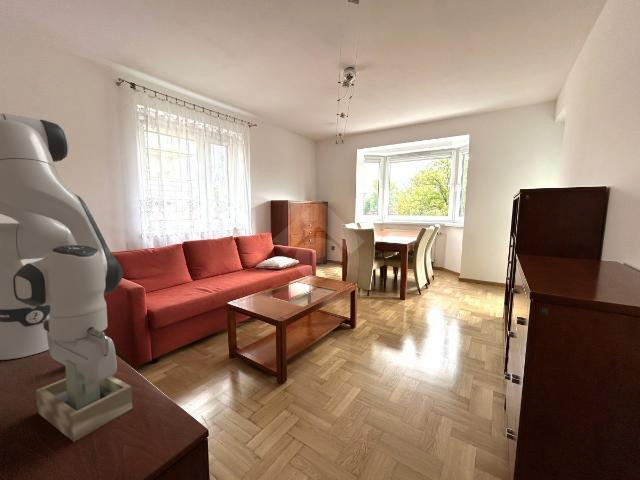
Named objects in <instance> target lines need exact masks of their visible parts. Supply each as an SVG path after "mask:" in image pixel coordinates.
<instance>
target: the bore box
mask: <svg viewBox="0 0 640 480" xmlns="http://www.w3.org/2000/svg"><path fill="white" fill-rule="evenodd" d="M99 385H100V400H98V401H96V402H94V403H92V404H90V405H88V406H86V407H84V408H82V409H80V410H78V411H76V410H74V409H73V408H72V407H70V406H69V405H68V404H67V386H66V377H65V378H63V379H60V380H57V381H55V382H53V383H50V384H48V385H46V386H43V387H41V388H38V389H36V390H35V393H36V407H37V408H36V409H37V414H38V415H40V416H41V417H42V418H44V419H45V420H46V421H47V422H49V423H50V424H51V425H52V426H53V427H55V428H56V429H57V430H59V431H60V432H61V433H62V434H63V435H64V436H66V437H67V438H68V439H70V441H72V442H73V443H75V442H77V441H78V440H80V439H82V438H84V437H85V436H87V435H88V434H90V433H92V432H94V431H95V430H97V429H99V428H101V427H103V426H104V425H106V424H108V423H109V422H112V421H114V420H115V419H117V418H119V417H120V416H122V415H124V414H125V413H127V412H128V411H130V410H132V409H133V387H132V385H130V384H128V383H126V382H125V381H122V380H121V379H119V378H116V377H114V375H112V376H110V377H108V378H106V379H104V380H101V381H99ZM76 440H77V441H76Z"/></svg>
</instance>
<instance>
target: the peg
mask: <svg viewBox="0 0 640 480" xmlns="http://www.w3.org/2000/svg"><path fill="white" fill-rule="evenodd" d="M64 366H65V368H64V369H65V378H66V386H67V404H68V405H69V406H70V407H72V408H73V409H74V410H76V411H78V410H80V409H82V408H84V407H86V406H88V405H90V404H92V403H94V402H96V401H98V400H100V385H99V382H97V389H96V390H95V391H93V392H91V393H89V394H87V393H85V392H84V391H83V384H84V383H85V378H84V376H83V375H82V374H80V373H78V372H77V371H76V365H75V364H74V363H72V362H70V361H68V360H65V365H64Z"/></svg>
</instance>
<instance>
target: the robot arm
mask: <svg viewBox="0 0 640 480" xmlns="http://www.w3.org/2000/svg"><path fill="white" fill-rule="evenodd" d="M69 149H70V143H69V139H68V137H67V135H66V134H65V131H64V130H63V128H62V127H61V126H60V125H59V124H57V123H55V122H52V121H47V120H45V119H39V120H38V119H34V118H32V117H31V118H30V117H26V116H21V115H16V114H10V113H0V215H3V216H5V217H8V218H11V219H12V220H14V221H16V222H17V223H14V222H13V223H11V222H10V223H8V222H7V223H5V222H4V223H3V222H0V360H1V361H3V360H12V359H14V360H15V359H19V358H24V357H29V356H32V355H37V354H40V353H43V352H46V351H49V353H50V356H51V358H52V359H53V360H55V361H57V362H58V363H60V364H62V365H64V366H65V360H68V361H70V362H72V363H74V364H75V365H76V371H77V372H78V373H80V374H82V375H83V376H84V378H85V383H84V384H83V391H84V392H85V393H87V394H89V393H91V392H93V391H95V390H96V389H97V382H99V381H101V380H104V379H106V378H108V377H110V376H114V375H115V374H116V372H117V371H118V364H117V355H116V348H115V344H114V341H113V340H112V338H110V336H107V335H106V332H104V331H105V330H107V328H108V325H109V324H108V309H107V307H108V306H107V305H108V304H107V301H106V299H105V295H108V294H112V292H113V291H114V290H115V289H116V288H117V287H118V286H119V284H120V283H121V281H122V278H123V277H124V275H123V274H124V273H123V268H122V265H121V264H120V262H119V261H118V259H117V258H116V257H115V255H114V254H113V253H112V251H111V249H110V248H109V245H108V243H107V242H106V240H105V238H104V237H103V234H102V233H101V229H99V227H98V225H97V223H96V221H95V219H94V217H93V215H92V213H91V211H90V209H89V208H88V206H87V204H86V203H85V201H84V200H83V199H82V197H81V196H79V195H77V194H76V193H74V192H72V190H70V188H68V187H67V186H66V184H65V183H64V182H63V180H62V178H60V176H59V174H58V172H57V169H56V165H55V163H56V162H61V161H62V160H64V159H65V158H67V157H68V152H69ZM36 259H37V260H36ZM38 259H39V260H38ZM22 260H36V261H33V262H32V261H31V262H29V263H26V264H25V265H24V264H23V262H22Z"/></svg>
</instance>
